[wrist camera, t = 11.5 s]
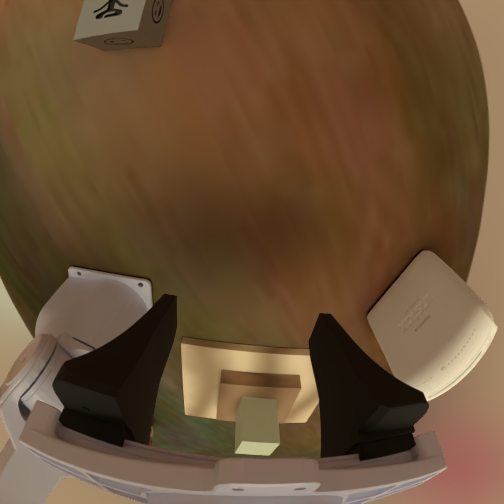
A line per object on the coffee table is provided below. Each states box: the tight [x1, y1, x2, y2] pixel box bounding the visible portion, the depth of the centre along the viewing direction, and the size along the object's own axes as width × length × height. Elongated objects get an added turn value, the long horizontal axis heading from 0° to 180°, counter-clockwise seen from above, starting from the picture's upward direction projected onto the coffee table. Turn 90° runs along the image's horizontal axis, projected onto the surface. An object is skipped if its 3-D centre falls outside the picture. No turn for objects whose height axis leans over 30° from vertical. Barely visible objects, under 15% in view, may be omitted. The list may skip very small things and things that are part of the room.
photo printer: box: [367, 251, 498, 401], centre depth 20 cm, size 10×4×12 cm, turn 148°
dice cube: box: [73, 0, 173, 51], centre depth 12 cm, size 5×5×5 cm
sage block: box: [235, 396, 280, 455], centre depth 27 cm, size 4×4×6 cm
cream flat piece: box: [181, 337, 319, 423], centre depth 31 cm, size 18×16×3 cm
